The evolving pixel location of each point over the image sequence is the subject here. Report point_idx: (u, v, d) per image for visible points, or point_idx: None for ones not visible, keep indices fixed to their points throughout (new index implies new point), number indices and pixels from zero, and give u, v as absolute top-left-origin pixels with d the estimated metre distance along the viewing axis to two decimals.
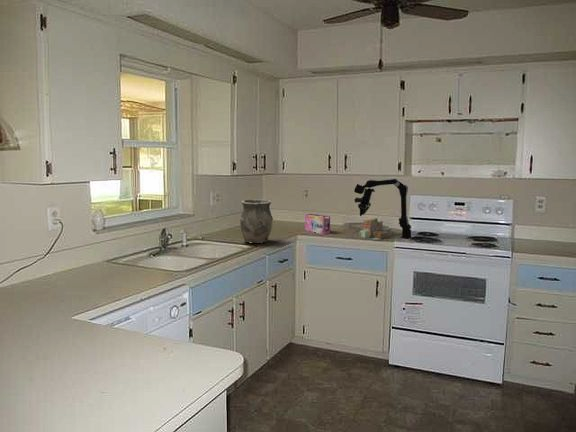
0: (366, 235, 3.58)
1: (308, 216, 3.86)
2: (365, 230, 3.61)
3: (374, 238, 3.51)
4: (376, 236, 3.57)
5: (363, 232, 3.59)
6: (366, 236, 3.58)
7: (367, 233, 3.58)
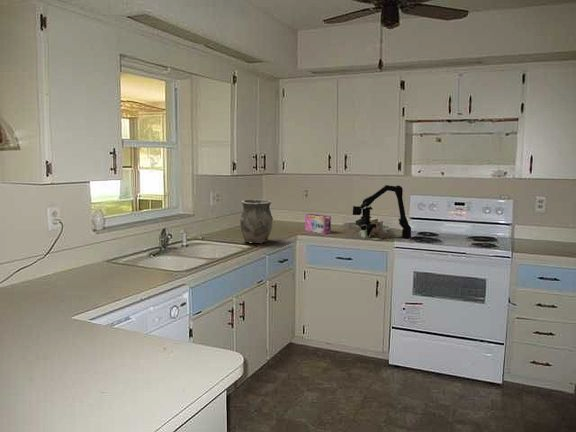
0: (366, 235, 3.58)
1: (308, 216, 3.86)
2: (365, 230, 3.61)
3: (374, 238, 3.51)
4: (376, 236, 3.57)
5: (363, 232, 3.59)
6: (366, 236, 3.58)
7: None
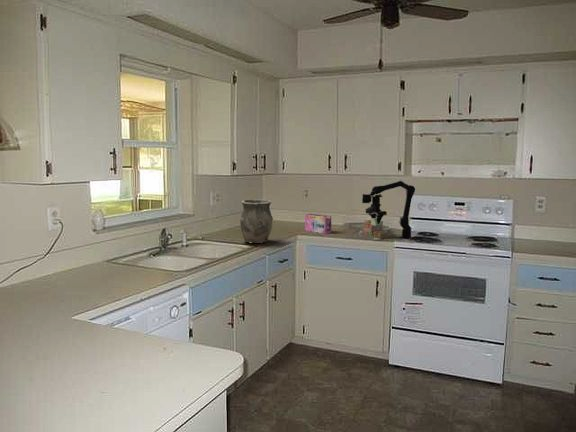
0: (376, 223, 3.56)
1: (308, 216, 3.86)
2: (375, 218, 3.59)
3: (374, 238, 3.51)
4: (376, 236, 3.57)
5: (373, 220, 3.57)
6: (376, 224, 3.56)
7: None
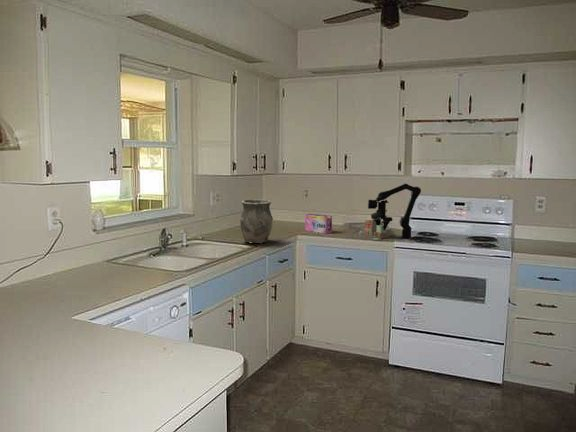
0: (382, 230, 3.55)
1: (309, 216, 3.86)
2: (380, 225, 3.58)
3: (374, 238, 3.51)
4: (376, 236, 3.57)
5: (378, 227, 3.56)
6: (382, 231, 3.56)
7: (382, 229, 3.56)
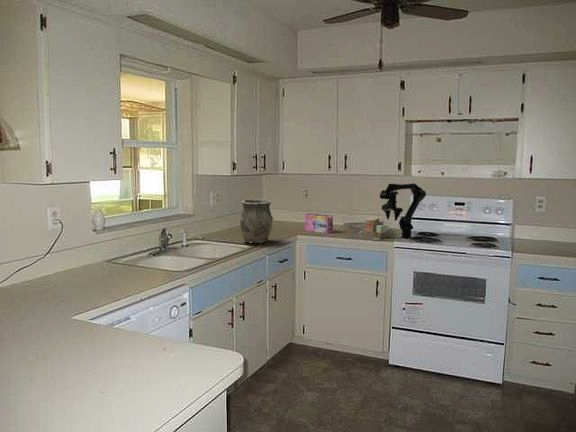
0: (382, 230, 3.55)
1: (309, 216, 3.86)
2: (380, 225, 3.58)
3: (374, 238, 3.51)
4: (376, 236, 3.57)
5: (378, 227, 3.56)
6: (382, 231, 3.56)
7: (382, 229, 3.56)
